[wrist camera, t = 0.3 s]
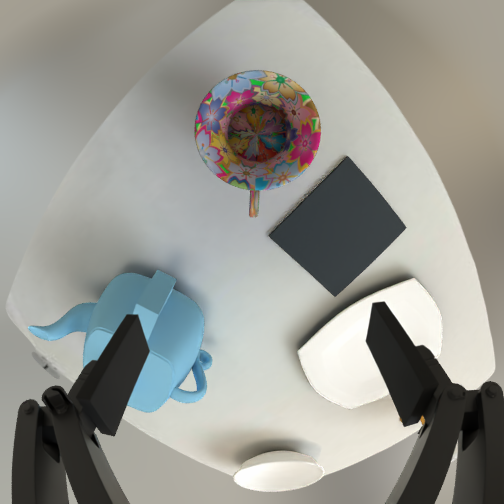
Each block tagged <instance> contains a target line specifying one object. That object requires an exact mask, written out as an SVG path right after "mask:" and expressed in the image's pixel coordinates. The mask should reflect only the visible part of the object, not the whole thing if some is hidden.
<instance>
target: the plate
mask: <svg viewBox="0 0 504 504" xmlns="http://www.w3.org/2000/svg"><path fill="white" fill-rule="evenodd" d="M383 301H385V303H386V304H387V306H388V307H389V308H390V310H391V311H392V313H393V314H394V315H395V317H396V318H397V320H398V321H399V323H400V324H401V325H402V327H403V328H404V330H405V331H406V333H407V334H408V336H409V337H410V339H411V340H412V342H413V343H414V345H415V346H419V345H424V346H425V347H427V348H428V349H430V350H431V352H432V353H433V355H434V356H435V358H437V357H438V356H439V355H440V352H441V345H442V318H441V313H440V311H439V309H438V306H437V304H436V303H435V301H434V300H433V298H432V297H431V295H430V294H429V293H428V292H427V291H426V289H425V288H424V287H423V286H422V285H421V284H420V283H419V282H418V281H417V280H416V279H415V278H411V279H408V280H405V281H403V282H400V283H397V284H395V285H392V286H389V287H387V288H384V289H382V290H379V291H377V292H375V293H373V294H370V295H368V296H366V297H364V298H362V299H360V300H359V301H357V302H355V303H353V304H352V305H350V306H348V307H347V308H346V309H344V310H343V311H341V312H340V313H339V314H337V315H336V316H335V317H334V318H332V319H331V320H330V321H329V322H328V323H326V324H325V325H324V326H323V327H322V328H321V329H320V330H319V331H318V332H317V333H315V334H314V335H313V336H312V337H311V338H310V339H309V340H308V341H307V342H306V343H305V344H304V345H303V346H302V347H301V348H300V349H299V350H298V351H297V352H298V355H299V359H300V362H301V365H302V367H303V370H304V373H305V375H306V377H307V379H308V381H309V383H310V384H311V386H312V387H313V388H314V390H315V391H316V392H317V393H319V394H320V395H321V396H322V397H324V398H326V399H328V400H329V401H331V402H333V403H335V404H337V405H340V406H342V407H345V408H347V409H352V408H355V407H359V406H362V405H365V404H367V403H370V402H373V401H376V400H378V399H380V398H383V397H385V396H387V395H389V394H390V393H389V391H388V388H387V386H386V384H385V382H384V380H383V377H382V375H381V373H380V371H379V369H378V367H377V364H376V362H375V360H374V358H373V356H372V354H371V352H370V350H369V348H368V345H367V343H366V336H367V331H368V325H369V320H370V314H371V308H372V303H374V302H383Z"/></svg>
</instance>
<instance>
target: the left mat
mask: <svg viewBox="0 0 504 504" xmlns="http://www.w3.org/2000/svg"><path fill="white" fill-rule="evenodd" d="M405 229H406V226H405V225H404V224H403V222H402V221H401V220H400V218H399V217H398V216H397V214H396V213H395V212H394V211H393V209H392V208H391V207H390V205H389V204H388V203H387V202H386V200H385V199H384V198H383V197H382V195H381V194H380V193H379V192H378V190H377V189H376V188H375V187H374V186H373V184H372V183H371V182H370V181H369V180H368V179H367V177H366V176H365V175H364V174H363V173H362V172H361V170H360V169H359V168H358V167H357V166H356V165H355V164H354V163H353V161H352V160H351V159H350V158H349V157H346V158H345V159H344V160H343V161H342V162H341V163H340V164H339V165H338V166H337V167H336V168H335V169H334V170H333V171H332V172H331V173H330V174H329V175H328V176H327V177H326V178H325V179H324V180H323V181H322V183H321V184H320V185H319V186H318V187H317V188H316V189H315V190H314V191H313V192H312V193H311V194H310V195H309V196H308V197H307V198H306V199H305V200H304V201H303V202H302V203H301V204H300V205H299V206H298V207H297V208H296V209H295V210H294V211H293V212H292V213H291V214H290V215H289V216H288V217H287V218H286V219H285V220H284V221H283V222H282V223H281V224H280V225H279V226H278V227H277V228H276V229H275V230H274V231H273V232H272V233H271V234H270V235H269V237H270V238H271V239H272V240H273V241H274V242H276V243H277V244H278V245H279V246H280V247H281V248H282V249H283V250H284V251H286V252H287V253H288V254H289V255H290V256H291V257H292V258H293V259H294V260H296V261H297V262H298V263H299V264H300V265H301V266H302V267H303V268H304V269H305V270H306V271H308V272H309V273H310V274H311V275H312V276H313V277H314V278H315V279H316V280H317V281H318V282H320V283H321V284H322V285H323V286H324V287H325V288H326V289H327V290H328V291H329V292H330V293H331V294H332V295H334V296H335V297H336V296H337V295H338V294H339V293H340V292H341V291H342V290H343V289H344V288H346V287H347V286H348V285H349V284H350V283H351V282H352V281H353V280H354V279H355V278H356V277H357V276H359V275H360V274H361V273H362V272H363V271H364V270H365V269H366V268H367V267H368V266H369V265H370V264H371V263H372V262H373V261H374V260H375V259H376V258H377V257H378V256H379V255H380V254H381V253H382V252H383V251H384V250H385V249H386V248H387V247H388V246H389V245H390V244H391V243H392V242H393V241H394V240H395V239H396V238H397V237H398V236H399V235H400V234H401V233H402V232H403V231H404V230H405Z"/></svg>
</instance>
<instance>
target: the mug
mask: <svg viewBox="0 0 504 504" xmlns="http://www.w3.org/2000/svg"><path fill="white" fill-rule="evenodd" d="M320 136H321V126H320V119H319V115H318V112H317V109H316V107H315V105H314V103H313V101H312V99H311V98H310V96H309V95H308V94H307V93H306V91H305V90H304V89H303V88H302V87H301V86H299V85H298V84H297V83H296V82H294V81H292V80H291V79H289V78H287V77H285V76H283V75H280V74H278V73H274V72H270V71H262V70H253V71H245V72H241V73H237V74H234V75H232V76H230V77H228V78H226V79H224V80H222V81H221V82H219V83H218V84H217V85H216V86H214V87H213V88H212V89H211V90H210V92H209V93H208V94H207V95H206V97H205V98H204V100H203V101H202V103H201V105H200V107H199V110H198V112H197V116H196V121H195V140H196V144H197V148H198V151H199V153H200V155H201V157H202V159H203V161H204V162H205V164H206V165H207V167H208V168H209V169H210V170H211V171H212V172H213V173H214V174H215V175H216V176H218V177H219V178H220V179H222V180H223V181H225V182H227V183H229V184H231V185H233V186H235V187H238V188H242V189H247V190H250V207H249V216H250V217H257V216H258V209H259V190H269V189H274V188H278V187H281V186H283V185H286V184H288V183H289V182H291V181H293V180H294V179H296V178H297V177H298V176H300V175H301V174H302V173H303V172H304V171H305V170H306V169H307V168H308V166H309V165H310V164H311V162H312V160H313V159H314V157H315V155H316V152H317V150H318V147H319V143H320Z"/></svg>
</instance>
